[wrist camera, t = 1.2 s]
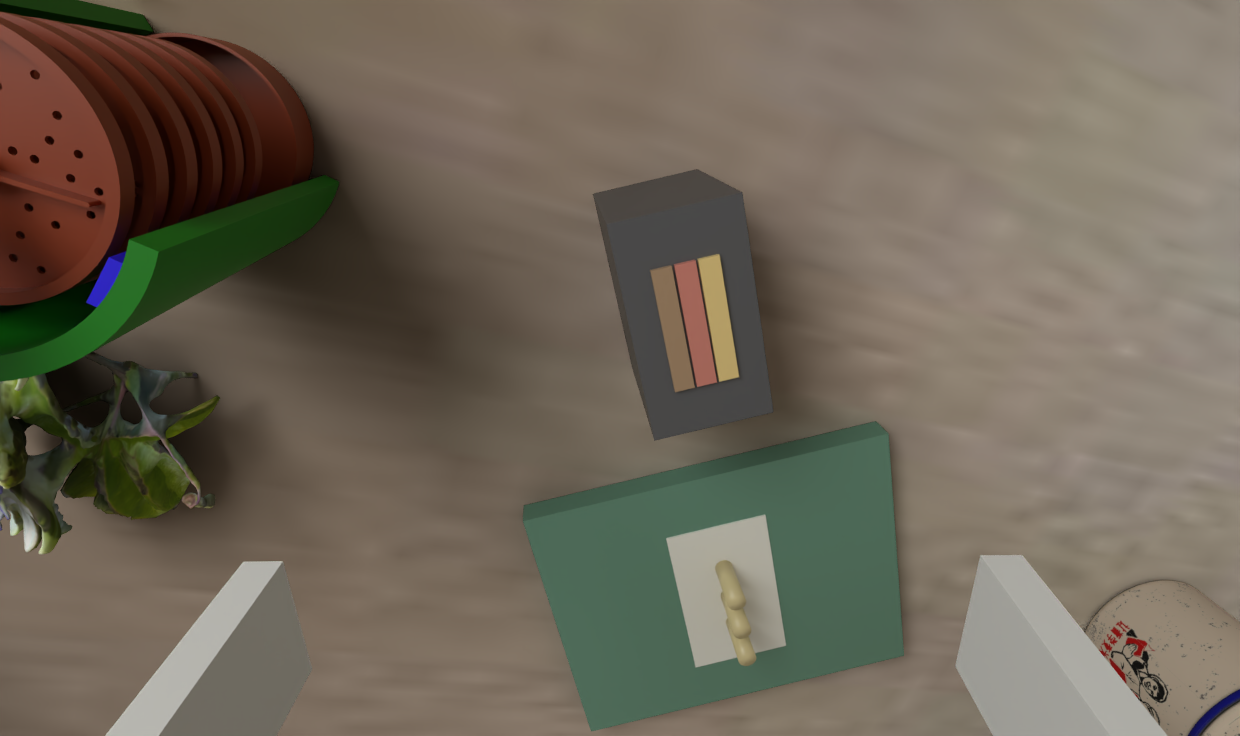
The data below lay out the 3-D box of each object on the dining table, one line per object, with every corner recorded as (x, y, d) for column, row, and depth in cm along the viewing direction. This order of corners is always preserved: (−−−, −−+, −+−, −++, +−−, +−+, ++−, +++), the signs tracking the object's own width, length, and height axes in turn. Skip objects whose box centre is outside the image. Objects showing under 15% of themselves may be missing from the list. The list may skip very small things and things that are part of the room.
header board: (589, 711, 44) (594, 776, 40) (523, 505, 38) (520, 556, 34) (892, 637, 44) (928, 694, 40) (876, 421, 38) (916, 461, 34)
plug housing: (632, 367, 35) (655, 442, 28) (592, 193, 32) (606, 225, 24) (726, 345, 35) (774, 414, 28) (697, 169, 32) (743, 193, 24)
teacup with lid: (1071, 599, 44) (1238, 761, 34) (1208, 556, 44) (1420, 706, 33) (1079, 724, 49) (1229, 902, 38) (1203, 686, 49) (1388, 854, 38)
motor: (369, 116, 30) (79, 155, 11) (293, 291, 32) (-46, 557, 14) (123, -21, 27) (-778, -259, 9) (61, 182, 30) (-743, 331, 11)
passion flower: (95, 336, 38) (-183, 256, 26) (280, 323, 36) (75, 232, 25) (66, 549, 35) (-254, 566, 24) (263, 543, 34) (27, 558, 22)
